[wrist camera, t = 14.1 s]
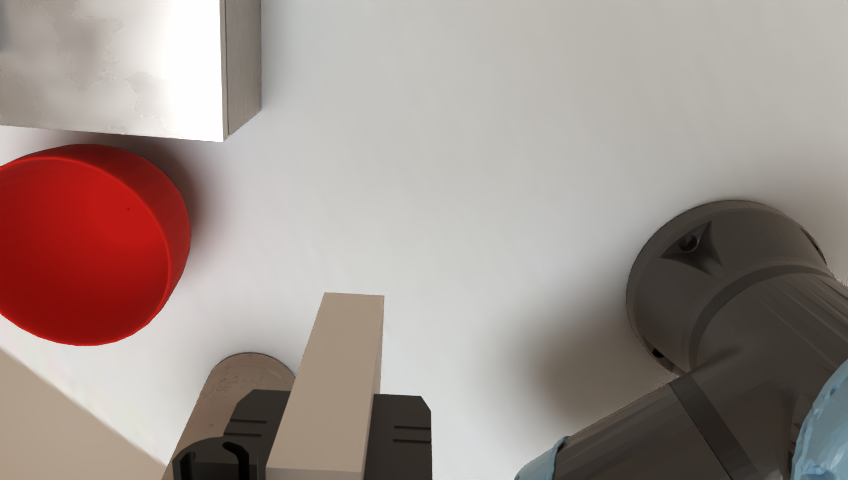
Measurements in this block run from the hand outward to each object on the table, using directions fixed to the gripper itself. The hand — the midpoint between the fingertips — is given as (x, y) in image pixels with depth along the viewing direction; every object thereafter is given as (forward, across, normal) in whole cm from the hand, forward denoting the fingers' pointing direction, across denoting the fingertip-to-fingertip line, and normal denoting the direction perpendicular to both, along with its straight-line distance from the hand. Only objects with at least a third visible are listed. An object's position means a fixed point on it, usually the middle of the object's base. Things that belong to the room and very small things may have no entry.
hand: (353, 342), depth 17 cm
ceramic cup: (+33, +22, +8) cm, 41 cm away
